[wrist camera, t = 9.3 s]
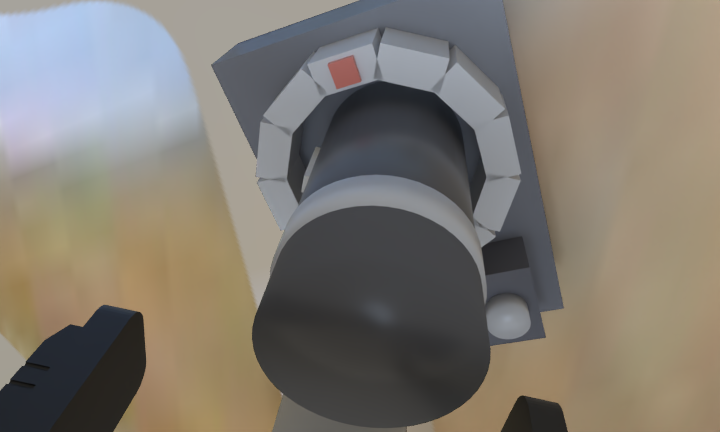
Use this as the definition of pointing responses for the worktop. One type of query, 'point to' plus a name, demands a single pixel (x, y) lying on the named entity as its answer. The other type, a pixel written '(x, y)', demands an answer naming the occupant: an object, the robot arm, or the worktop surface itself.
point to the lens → (379, 270)
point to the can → (315, 421)
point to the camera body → (421, 71)
